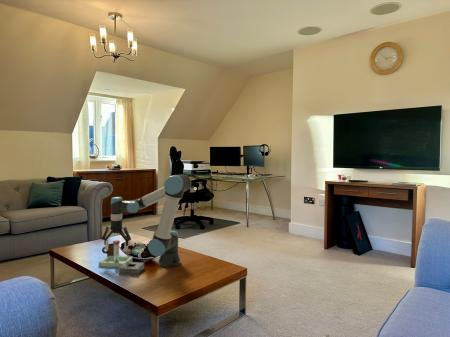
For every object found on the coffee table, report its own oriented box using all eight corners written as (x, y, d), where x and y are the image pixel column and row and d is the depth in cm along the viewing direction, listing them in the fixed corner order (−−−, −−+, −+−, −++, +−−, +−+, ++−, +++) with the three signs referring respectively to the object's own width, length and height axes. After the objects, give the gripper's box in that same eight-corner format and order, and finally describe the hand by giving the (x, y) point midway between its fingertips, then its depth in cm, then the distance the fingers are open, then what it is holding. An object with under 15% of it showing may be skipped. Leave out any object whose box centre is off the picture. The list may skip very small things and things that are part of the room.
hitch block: (144, 268, 204) (144, 262, 204) (137, 275, 192) (137, 269, 192) (126, 267, 206) (126, 261, 205) (118, 274, 194) (118, 268, 193)
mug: (104, 261, 217) (104, 248, 217) (99, 258, 222) (99, 245, 222) (120, 257, 226) (120, 244, 226) (114, 254, 231) (114, 242, 231)
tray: (132, 261, 219) (132, 256, 218) (124, 268, 205) (124, 263, 205) (108, 259, 220) (108, 255, 220) (98, 266, 206) (98, 262, 206)
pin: (120, 262, 214) (120, 240, 214) (117, 264, 210) (118, 242, 209) (114, 261, 215) (114, 240, 214) (111, 263, 210) (111, 241, 210)
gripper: (136, 219, 214) (135, 249, 215) (101, 217, 216) (101, 247, 217) (131, 221, 206) (131, 252, 207) (96, 220, 209) (96, 250, 209)
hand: (116, 250), depth 212 cm, fingers open, 13 cm apart
